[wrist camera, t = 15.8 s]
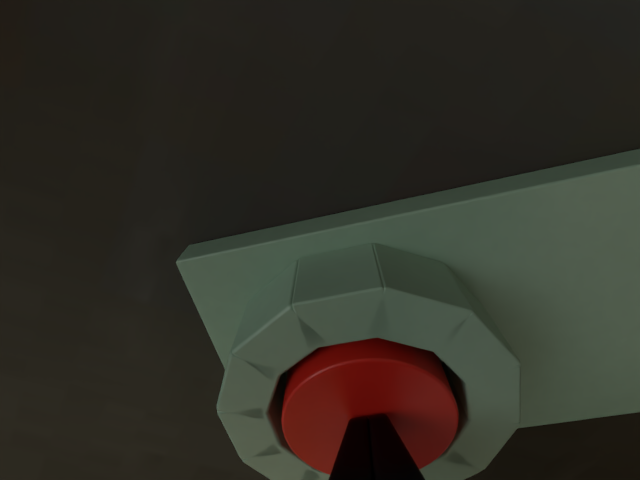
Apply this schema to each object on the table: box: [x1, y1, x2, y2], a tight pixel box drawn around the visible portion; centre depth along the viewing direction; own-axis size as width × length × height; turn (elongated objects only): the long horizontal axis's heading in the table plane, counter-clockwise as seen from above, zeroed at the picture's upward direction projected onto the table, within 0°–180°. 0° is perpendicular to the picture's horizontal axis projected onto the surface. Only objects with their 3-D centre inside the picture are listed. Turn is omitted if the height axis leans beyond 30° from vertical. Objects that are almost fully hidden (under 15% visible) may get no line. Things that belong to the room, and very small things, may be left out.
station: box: [176, 149, 640, 480], centre depth 9 cm, size 12×8×3 cm, turn 103°
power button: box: [281, 338, 459, 475], centre depth 9 cm, size 4×4×2 cm
